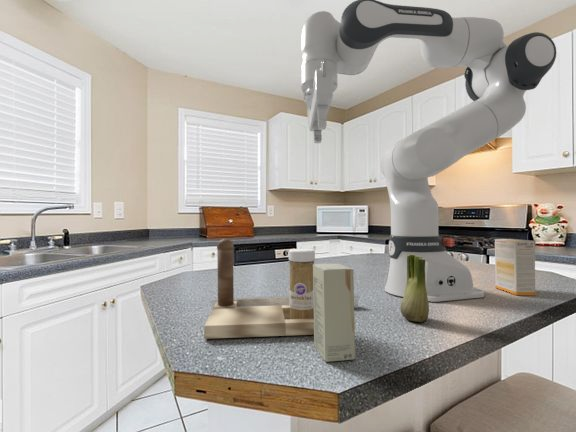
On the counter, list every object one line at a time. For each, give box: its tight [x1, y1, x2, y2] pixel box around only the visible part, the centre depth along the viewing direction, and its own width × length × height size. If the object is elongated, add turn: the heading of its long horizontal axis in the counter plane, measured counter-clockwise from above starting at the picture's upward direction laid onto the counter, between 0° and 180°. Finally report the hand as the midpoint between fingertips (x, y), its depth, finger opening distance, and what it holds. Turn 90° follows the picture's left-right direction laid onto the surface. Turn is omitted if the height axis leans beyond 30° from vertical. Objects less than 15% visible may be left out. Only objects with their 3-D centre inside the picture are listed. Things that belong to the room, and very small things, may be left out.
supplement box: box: [494, 238, 536, 296], centre depth 79 cm, size 8×5×13 cm, turn 179°
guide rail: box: [211, 293, 359, 311], centre depth 66 cm, size 30×2×2 cm, turn 95°
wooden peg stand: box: [203, 238, 314, 340], centre depth 57 cm, size 20×14×15 cm
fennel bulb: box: [399, 255, 430, 323], centre depth 58 cm, size 6×5×12 cm
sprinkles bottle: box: [288, 248, 316, 319], centre depth 56 cm, size 5×5×14 cm
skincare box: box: [313, 263, 356, 363], centre depth 45 cm, size 6×4×12 cm
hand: (319, 135), depth 76 cm, fingers open, 8 cm apart
